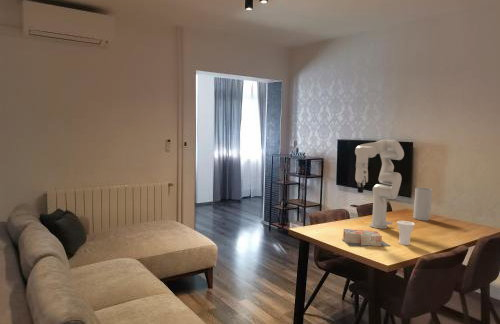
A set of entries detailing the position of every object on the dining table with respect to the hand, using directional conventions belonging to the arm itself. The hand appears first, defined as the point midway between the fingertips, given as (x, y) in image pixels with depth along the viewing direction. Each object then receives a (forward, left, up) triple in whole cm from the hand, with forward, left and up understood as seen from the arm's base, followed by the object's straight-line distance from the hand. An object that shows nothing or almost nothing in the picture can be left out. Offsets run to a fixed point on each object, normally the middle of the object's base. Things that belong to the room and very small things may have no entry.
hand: (360, 192), depth 246 cm
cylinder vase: (-75, -43, -29) cm, 91 cm away
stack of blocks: (+3, +10, -26) cm, 28 cm away
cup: (-22, +19, -29) cm, 42 cm away
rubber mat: (+3, +17, -29) cm, 34 cm away
